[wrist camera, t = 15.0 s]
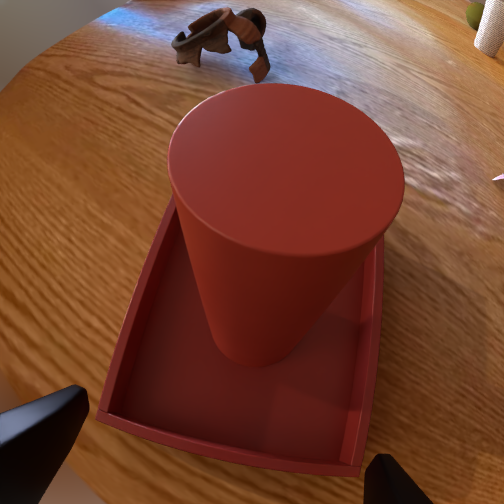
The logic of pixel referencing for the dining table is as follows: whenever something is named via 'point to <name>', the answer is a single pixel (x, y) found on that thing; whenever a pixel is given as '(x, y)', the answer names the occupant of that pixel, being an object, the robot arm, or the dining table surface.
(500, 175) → the lily
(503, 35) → the cup
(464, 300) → the dining table surface
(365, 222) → the red pin
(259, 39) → the brown irregular piece
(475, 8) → the apple
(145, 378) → the red tray
